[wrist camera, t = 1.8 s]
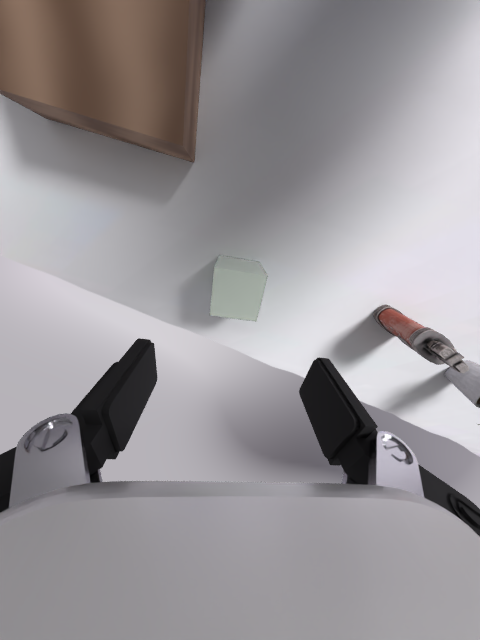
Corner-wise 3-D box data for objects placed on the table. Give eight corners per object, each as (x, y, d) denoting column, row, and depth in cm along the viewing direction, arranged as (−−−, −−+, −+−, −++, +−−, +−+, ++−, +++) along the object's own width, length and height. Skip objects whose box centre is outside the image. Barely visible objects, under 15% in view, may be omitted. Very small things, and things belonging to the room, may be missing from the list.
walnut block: (209, -46, 13) (197, -184, 8) (194, 163, 18) (182, 146, 14) (-12, -149, 11) (-178, -397, 6) (49, 120, 17) (-16, 84, 12)
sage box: (259, 261, 24) (267, 276, 17) (251, 298, 26) (256, 321, 20) (219, 255, 23) (213, 267, 17) (215, 293, 26) (209, 315, 20)
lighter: (368, 315, 28) (426, 357, 20) (386, 300, 27) (458, 337, 18) (394, 337, 31) (456, 383, 22) (412, 324, 30) (485, 367, 21)
